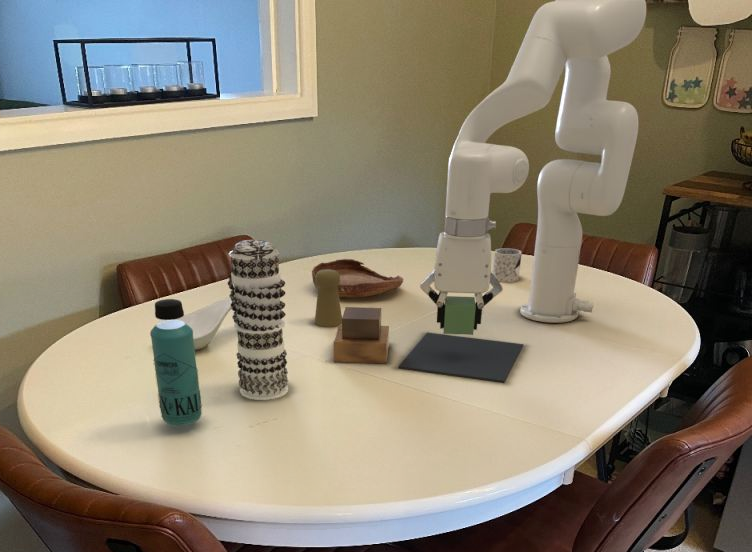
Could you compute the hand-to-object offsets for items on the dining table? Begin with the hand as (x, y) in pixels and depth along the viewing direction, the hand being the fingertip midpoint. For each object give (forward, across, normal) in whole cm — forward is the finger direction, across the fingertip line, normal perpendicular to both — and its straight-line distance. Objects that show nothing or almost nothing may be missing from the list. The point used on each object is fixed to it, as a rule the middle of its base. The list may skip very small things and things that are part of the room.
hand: (458, 326), depth 145 cm
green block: (+1, 0, 0) cm, 1 cm away
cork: (+7, +27, -19) cm, 34 cm away
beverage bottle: (+7, +44, +34) cm, 56 cm away
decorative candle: (+7, +34, +19) cm, 39 cm away
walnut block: (+2, +18, -1) cm, 18 cm away
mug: (+6, -14, -59) cm, 61 cm away
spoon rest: (+7, +49, -6) cm, 50 cm away
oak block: (+6, +18, -1) cm, 19 cm away
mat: (+6, -1, -1) cm, 7 cm away
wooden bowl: (+6, +23, -42) cm, 49 cm away
